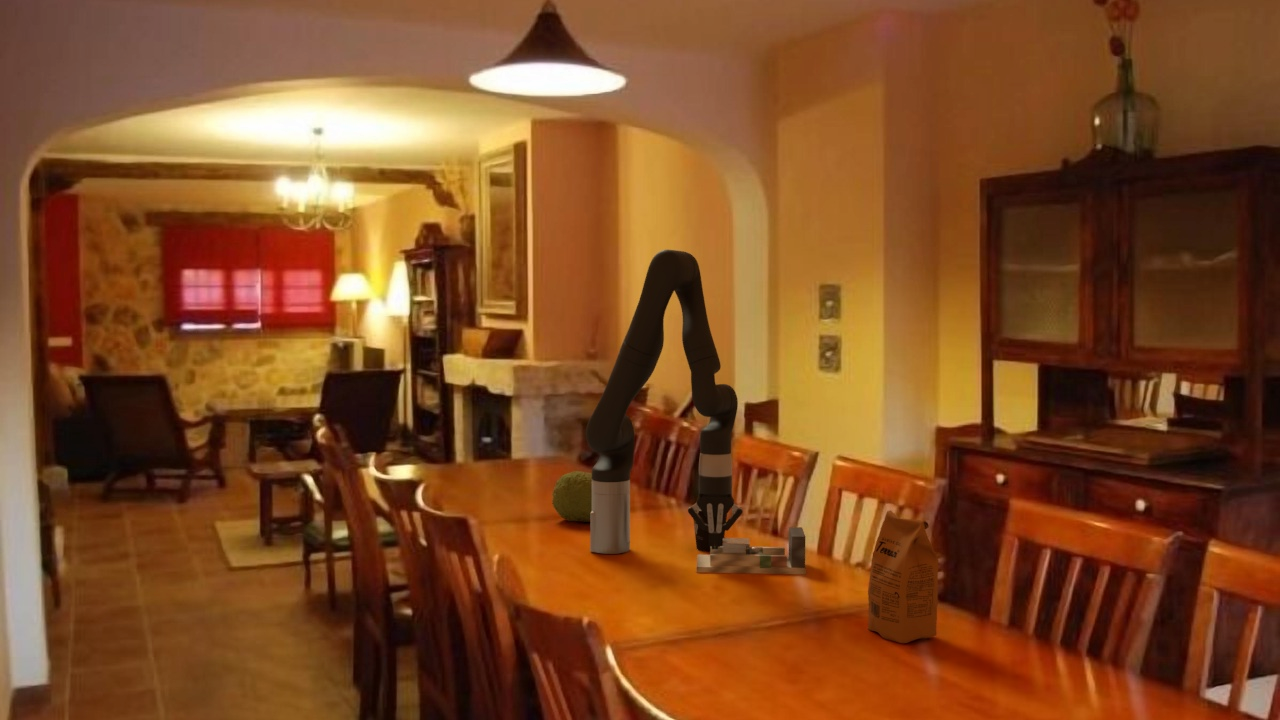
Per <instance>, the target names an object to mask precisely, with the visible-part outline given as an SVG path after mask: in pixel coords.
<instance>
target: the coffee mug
mask: <svg viewBox="0 0 1280 720" xmlns="http://www.w3.org/2000/svg"><path fill="white" fill-rule="evenodd" d="M698 510H699V513H698V515H699V516H700V517H701V518H702V520H703V521H704V522H705V524H707V525H708V517H706V516H705V515H704V513H703V512H702V511H701V509H700V508H699V507H698ZM727 518H728V513H727V514H726V516H724V517H723V519H722V525H723V524H725V523H726V522H727V520H728V519H727ZM713 519H714V532H716V525H717V517H713ZM692 520H693V527H694V538H695V545H696V546H695V547H696V550H697V549H698V551H700V552H705V551H706V553H708V552H709V553H710V547H709V533H708V532H707V531H705V530H702V529H701V528H700V527H699V525H698V524H697V523H696V522H695V520H694V519H693V518H692ZM725 534H726V531H723V532H722V533H721V546H723V538H725V536H726V535H725Z"/></svg>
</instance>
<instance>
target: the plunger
mask: <svg viewBox="0 0 1280 720" xmlns="http://www.w3.org/2000/svg"><path fill="white" fill-rule="evenodd" d="M750 544H751V543H750V538H749V537H724V538H723V554H746V555H750V554H763V547H764V546H751V545H750Z"/></svg>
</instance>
